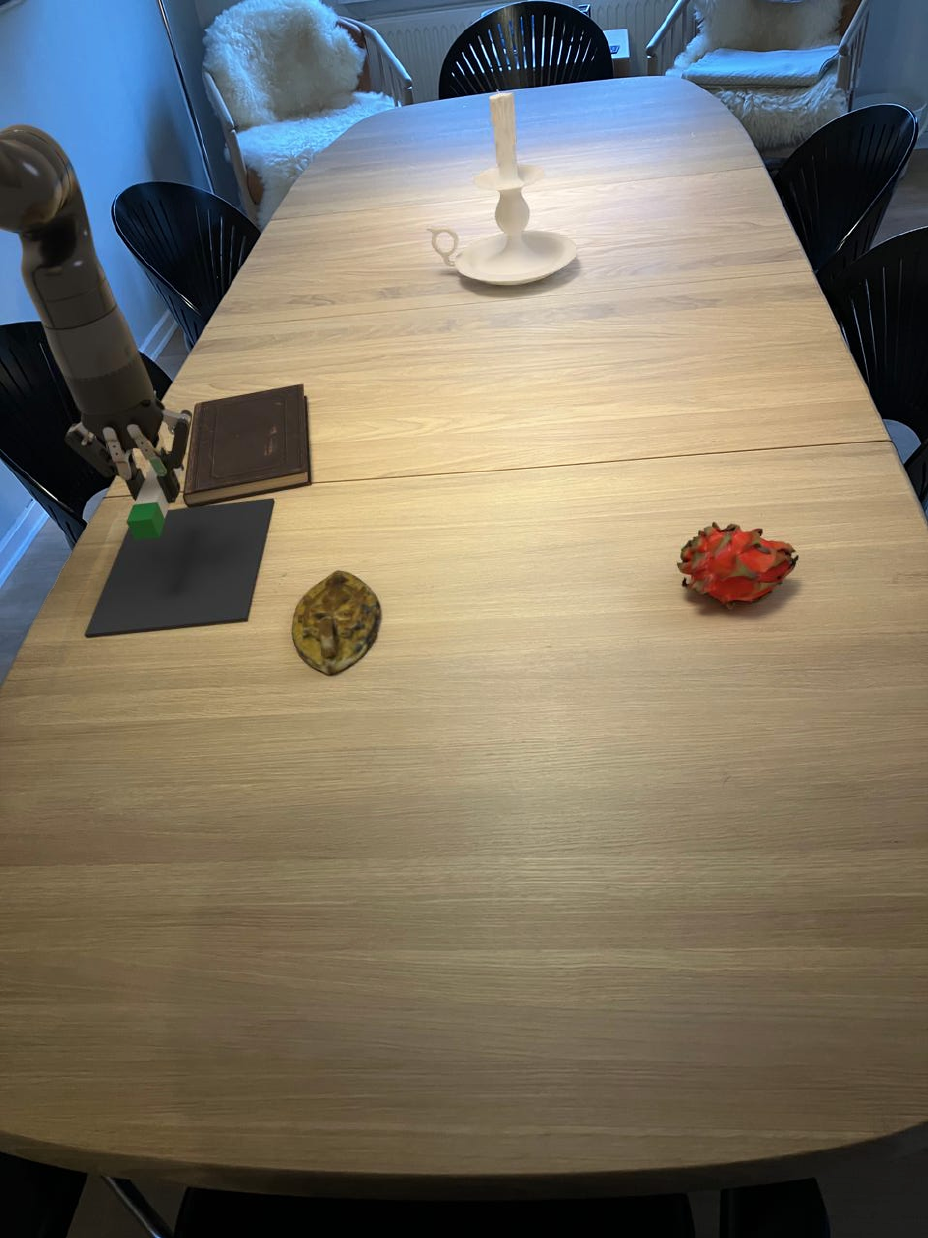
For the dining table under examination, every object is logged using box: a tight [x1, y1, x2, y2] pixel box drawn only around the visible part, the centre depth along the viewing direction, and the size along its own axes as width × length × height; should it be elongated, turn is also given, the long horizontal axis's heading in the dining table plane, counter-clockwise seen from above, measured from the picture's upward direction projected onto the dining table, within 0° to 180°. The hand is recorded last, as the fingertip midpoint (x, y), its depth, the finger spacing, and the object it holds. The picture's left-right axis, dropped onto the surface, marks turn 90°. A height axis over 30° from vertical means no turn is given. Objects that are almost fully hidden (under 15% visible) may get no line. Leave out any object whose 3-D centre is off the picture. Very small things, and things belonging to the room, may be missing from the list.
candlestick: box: [426, 89, 579, 286], centre depth 147 cm, size 21×25×28 cm
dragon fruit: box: [675, 521, 800, 610], centre depth 91 cm, size 8×8×12 cm
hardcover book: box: [182, 383, 312, 508], centre depth 124 cm, size 16×23×2 cm
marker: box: [126, 450, 185, 540], centre depth 101 cm, size 13×3×2 cm, turn 1°
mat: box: [84, 497, 275, 638], centre depth 108 cm, size 18×22×1 cm
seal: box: [291, 570, 382, 675], centre depth 96 cm, size 9×5×15 cm
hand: (159, 499), depth 101 cm, fingers closed on marker, 2 cm apart
